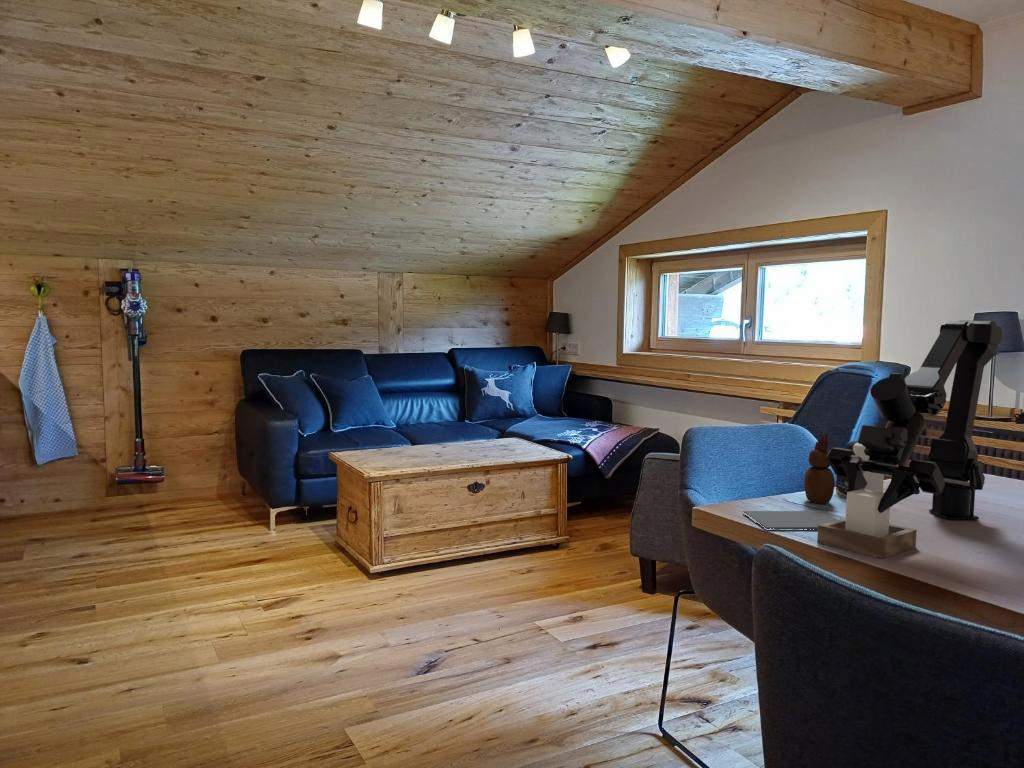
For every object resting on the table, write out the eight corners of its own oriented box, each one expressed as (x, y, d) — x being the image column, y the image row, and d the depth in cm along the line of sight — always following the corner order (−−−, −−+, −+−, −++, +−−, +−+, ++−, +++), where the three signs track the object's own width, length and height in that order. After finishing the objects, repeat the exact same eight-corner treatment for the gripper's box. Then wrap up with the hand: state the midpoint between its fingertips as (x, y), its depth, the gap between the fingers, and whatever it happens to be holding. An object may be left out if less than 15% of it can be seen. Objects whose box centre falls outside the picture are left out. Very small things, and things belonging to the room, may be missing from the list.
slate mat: (821, 513, 154) (821, 510, 154) (851, 530, 142) (851, 527, 142) (742, 514, 153) (743, 511, 153) (766, 530, 141) (766, 527, 141)
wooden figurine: (836, 506, 160) (839, 435, 159) (806, 505, 161) (810, 433, 160) (829, 499, 167) (832, 430, 166) (801, 497, 168) (804, 429, 167)
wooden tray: (851, 531, 141) (852, 515, 141) (915, 546, 132) (916, 529, 132) (817, 542, 134) (818, 525, 134) (882, 558, 125) (883, 540, 125)
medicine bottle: (835, 492, 174) (837, 439, 173) (865, 492, 175) (868, 439, 174) (851, 499, 167) (854, 444, 166) (883, 499, 168) (886, 444, 167)
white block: (859, 538, 136) (862, 488, 136) (887, 545, 132) (890, 494, 132) (844, 543, 133) (847, 492, 133) (872, 550, 129) (875, 497, 129)
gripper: (834, 403, 141) (796, 469, 135) (941, 414, 126) (904, 489, 120) (854, 442, 146) (819, 507, 140) (959, 457, 131) (925, 530, 126)
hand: (863, 507), depth 131 cm, fingers closed on white block, 5 cm apart
